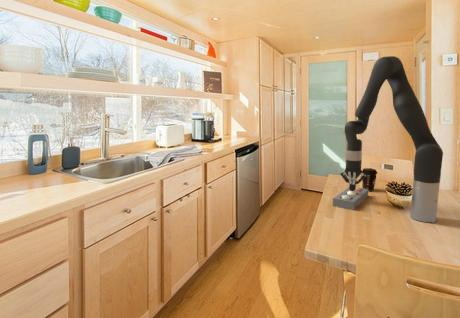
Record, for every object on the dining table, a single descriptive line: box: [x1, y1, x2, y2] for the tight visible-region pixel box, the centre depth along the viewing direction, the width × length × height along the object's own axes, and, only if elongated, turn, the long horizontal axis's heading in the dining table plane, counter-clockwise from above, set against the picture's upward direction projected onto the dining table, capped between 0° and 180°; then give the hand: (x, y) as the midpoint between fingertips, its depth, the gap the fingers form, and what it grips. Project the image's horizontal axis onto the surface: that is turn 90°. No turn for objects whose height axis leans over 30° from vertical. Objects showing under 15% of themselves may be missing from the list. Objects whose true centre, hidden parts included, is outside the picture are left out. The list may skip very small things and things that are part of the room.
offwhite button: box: [347, 191, 356, 196], centre depth 143 cm, size 4×4×3 cm
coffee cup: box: [361, 167, 378, 192], centre depth 162 cm, size 9×8×13 cm
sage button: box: [342, 195, 351, 200], centre depth 137 cm, size 4×4×3 cm
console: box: [332, 187, 369, 211], centre depth 143 cm, size 10×28×4 cm, turn 140°
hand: (352, 190), depth 143 cm, fingers closed
